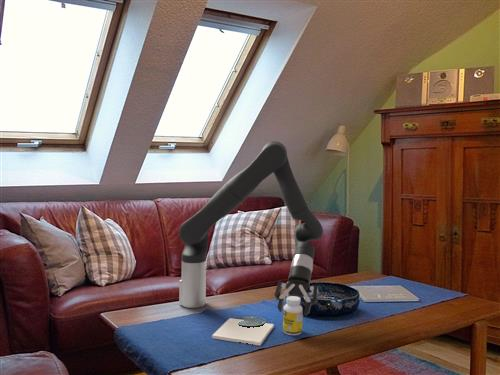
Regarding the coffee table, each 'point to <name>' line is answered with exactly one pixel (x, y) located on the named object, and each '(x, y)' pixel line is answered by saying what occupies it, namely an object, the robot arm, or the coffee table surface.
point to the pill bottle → (292, 316)
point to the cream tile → (242, 332)
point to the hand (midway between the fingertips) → (292, 312)
